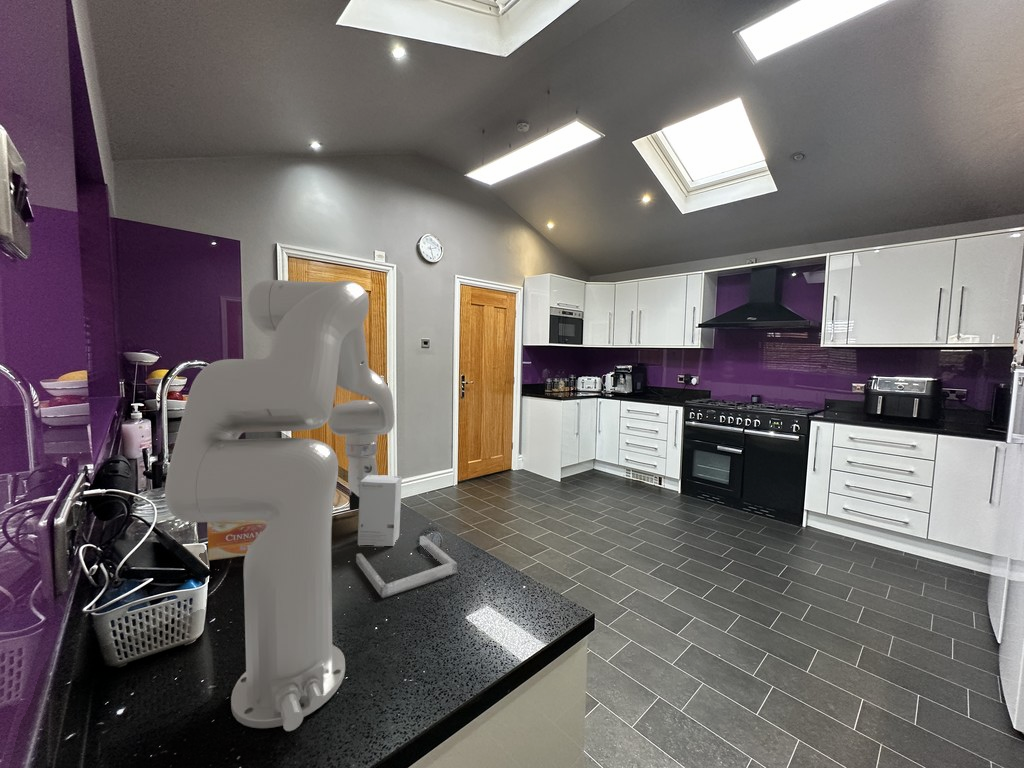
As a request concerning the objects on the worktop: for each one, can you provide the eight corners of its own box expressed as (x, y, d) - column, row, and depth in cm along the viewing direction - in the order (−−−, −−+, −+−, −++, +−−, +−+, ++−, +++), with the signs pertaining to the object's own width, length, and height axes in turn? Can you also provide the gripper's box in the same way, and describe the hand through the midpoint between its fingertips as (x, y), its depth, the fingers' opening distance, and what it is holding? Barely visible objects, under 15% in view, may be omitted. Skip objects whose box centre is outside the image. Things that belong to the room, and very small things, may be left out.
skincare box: (357, 547, 89) (356, 481, 88) (366, 535, 95) (365, 473, 94) (395, 547, 89) (395, 482, 88) (401, 535, 95) (402, 474, 94)
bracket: (456, 572, 79) (457, 563, 79) (382, 599, 70) (382, 588, 70) (423, 543, 91) (423, 535, 91) (356, 563, 82) (356, 554, 82)
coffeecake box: (207, 565, 80) (204, 470, 79) (216, 549, 87) (214, 461, 85) (292, 552, 86) (290, 463, 85) (295, 538, 93) (293, 455, 91)
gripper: (388, 454, 97) (388, 523, 98) (365, 441, 111) (365, 501, 112) (356, 458, 92) (357, 530, 93) (336, 444, 106) (337, 507, 107)
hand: (361, 514), depth 103 cm, fingers open, 9 cm apart
